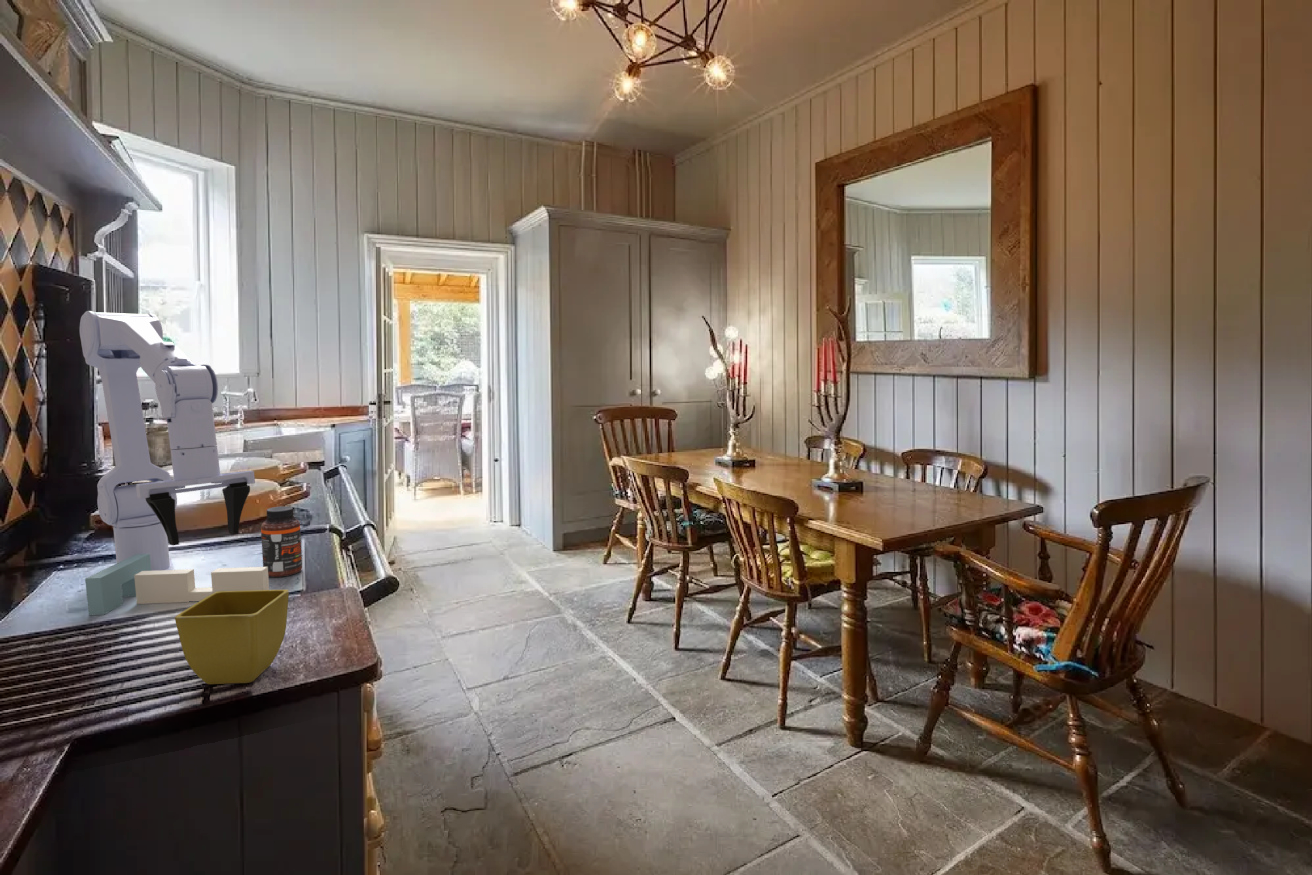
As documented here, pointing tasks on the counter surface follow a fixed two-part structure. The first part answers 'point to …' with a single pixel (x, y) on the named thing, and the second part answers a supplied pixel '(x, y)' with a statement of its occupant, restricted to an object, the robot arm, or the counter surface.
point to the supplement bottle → (281, 542)
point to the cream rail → (182, 584)
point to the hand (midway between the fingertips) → (204, 538)
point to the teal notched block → (114, 584)
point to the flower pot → (233, 634)
